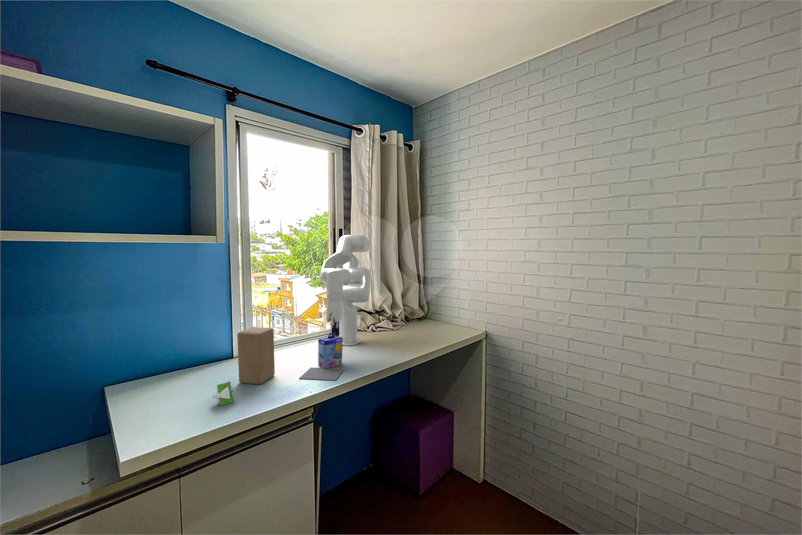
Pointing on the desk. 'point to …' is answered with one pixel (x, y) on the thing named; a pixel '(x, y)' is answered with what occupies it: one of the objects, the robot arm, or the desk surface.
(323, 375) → the mat
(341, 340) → the ink cartridge box
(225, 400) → the geometric puzzle
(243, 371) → the wooden block
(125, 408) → the desk surface
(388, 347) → the desk surface
